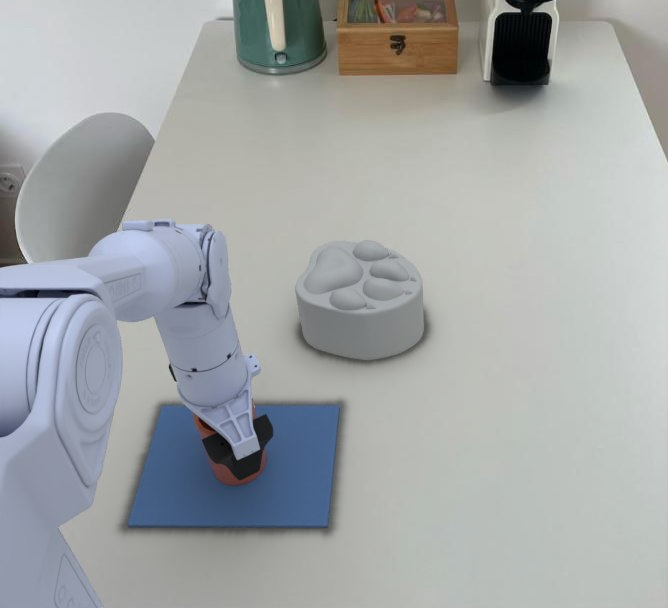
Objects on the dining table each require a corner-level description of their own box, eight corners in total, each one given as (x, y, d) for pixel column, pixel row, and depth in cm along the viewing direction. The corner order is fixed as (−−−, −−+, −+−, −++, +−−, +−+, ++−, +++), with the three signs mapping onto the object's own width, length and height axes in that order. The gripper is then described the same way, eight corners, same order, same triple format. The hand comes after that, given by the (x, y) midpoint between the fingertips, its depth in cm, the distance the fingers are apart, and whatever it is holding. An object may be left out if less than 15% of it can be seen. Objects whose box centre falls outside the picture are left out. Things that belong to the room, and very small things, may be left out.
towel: (339, 407, 82) (339, 405, 81) (327, 527, 72) (327, 525, 72) (163, 407, 82) (162, 405, 82) (128, 527, 73) (127, 524, 72)
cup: (243, 495, 74) (227, 445, 69) (199, 470, 76) (180, 420, 71) (278, 451, 78) (265, 400, 72) (235, 429, 80) (219, 378, 74)
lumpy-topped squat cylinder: (327, 280, 95) (320, 224, 89) (435, 300, 92) (434, 244, 86) (294, 346, 88) (283, 290, 82) (409, 370, 85) (406, 314, 79)
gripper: (284, 385, 62) (305, 481, 71) (218, 272, 71) (244, 370, 81) (196, 425, 60) (229, 519, 69) (140, 303, 69) (176, 400, 78)
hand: (232, 441), depth 75 cm, fingers open, 7 cm apart
